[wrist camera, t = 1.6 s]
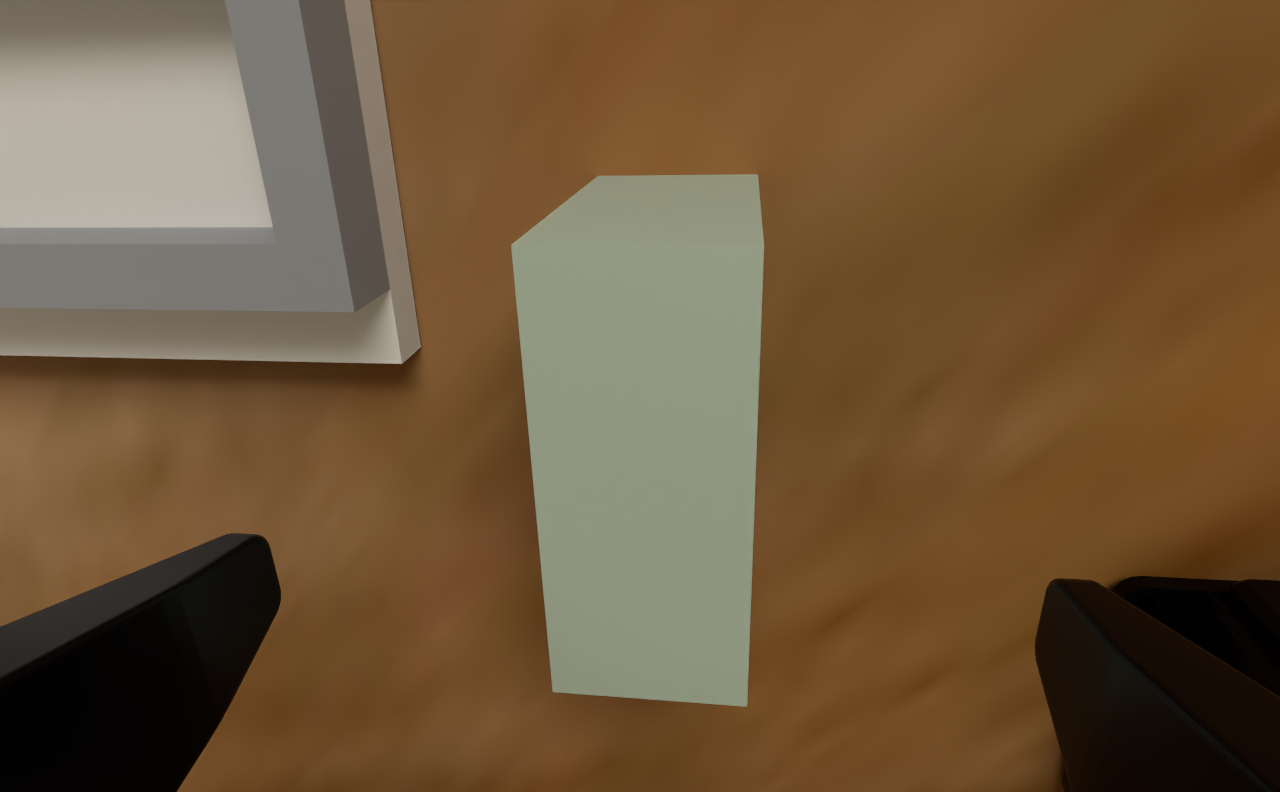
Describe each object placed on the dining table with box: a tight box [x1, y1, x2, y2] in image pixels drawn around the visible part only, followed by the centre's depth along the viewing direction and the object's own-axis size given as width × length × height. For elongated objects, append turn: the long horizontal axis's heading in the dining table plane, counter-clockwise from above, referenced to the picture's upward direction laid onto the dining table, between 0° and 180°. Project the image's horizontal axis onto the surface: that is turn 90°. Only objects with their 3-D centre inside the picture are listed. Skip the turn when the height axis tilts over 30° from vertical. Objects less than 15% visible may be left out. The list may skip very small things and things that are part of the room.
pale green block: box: [511, 174, 764, 707], centre depth 13 cm, size 7×3×6 cm, turn 1°
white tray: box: [0, 0, 421, 364], centre depth 14 cm, size 10×12×2 cm
